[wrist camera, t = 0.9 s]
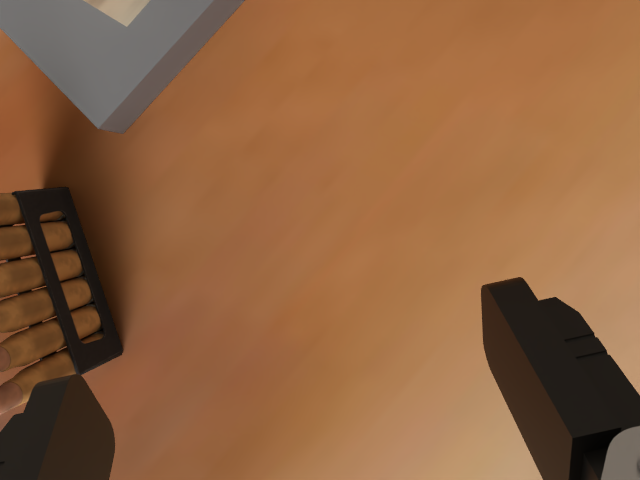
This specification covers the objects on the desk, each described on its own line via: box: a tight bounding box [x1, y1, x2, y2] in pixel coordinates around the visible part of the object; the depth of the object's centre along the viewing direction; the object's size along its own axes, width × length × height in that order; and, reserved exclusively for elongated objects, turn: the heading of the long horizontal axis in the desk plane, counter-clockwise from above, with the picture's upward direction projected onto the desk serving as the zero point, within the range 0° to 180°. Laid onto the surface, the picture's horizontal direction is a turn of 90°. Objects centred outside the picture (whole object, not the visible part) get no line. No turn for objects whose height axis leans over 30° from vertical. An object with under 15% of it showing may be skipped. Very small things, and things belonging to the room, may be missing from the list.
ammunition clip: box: [0, 187, 123, 414], centre depth 30 cm, size 11×2×12 cm, turn 18°
